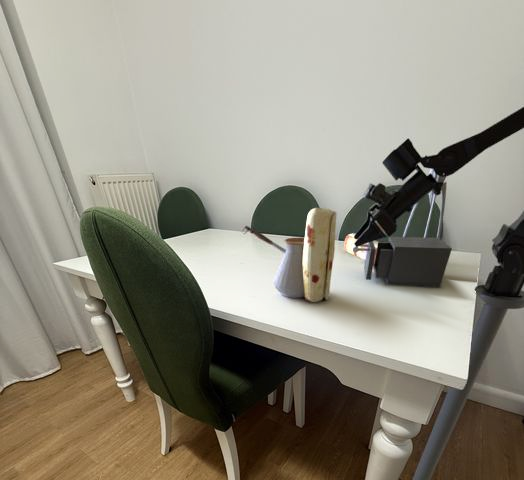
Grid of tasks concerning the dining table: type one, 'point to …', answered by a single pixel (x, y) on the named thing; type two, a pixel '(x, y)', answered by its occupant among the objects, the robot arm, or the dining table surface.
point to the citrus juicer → (432, 201)
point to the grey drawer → (376, 258)
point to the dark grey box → (418, 261)
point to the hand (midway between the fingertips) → (354, 241)
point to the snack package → (359, 254)
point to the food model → (318, 253)
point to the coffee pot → (288, 266)
